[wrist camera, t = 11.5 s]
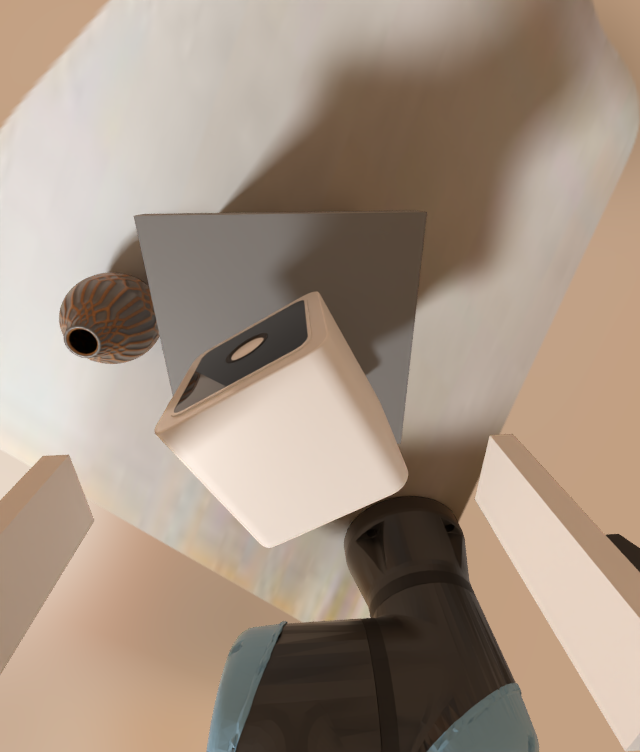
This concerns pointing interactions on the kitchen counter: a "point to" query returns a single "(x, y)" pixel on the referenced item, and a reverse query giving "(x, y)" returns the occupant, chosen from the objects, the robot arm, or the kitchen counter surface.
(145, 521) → the kitchen counter surface
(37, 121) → the kitchen counter surface
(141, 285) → the vase
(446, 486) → the kitchen counter surface
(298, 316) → the security camera
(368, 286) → the grey flat-topped box
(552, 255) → the kitchen counter surface
